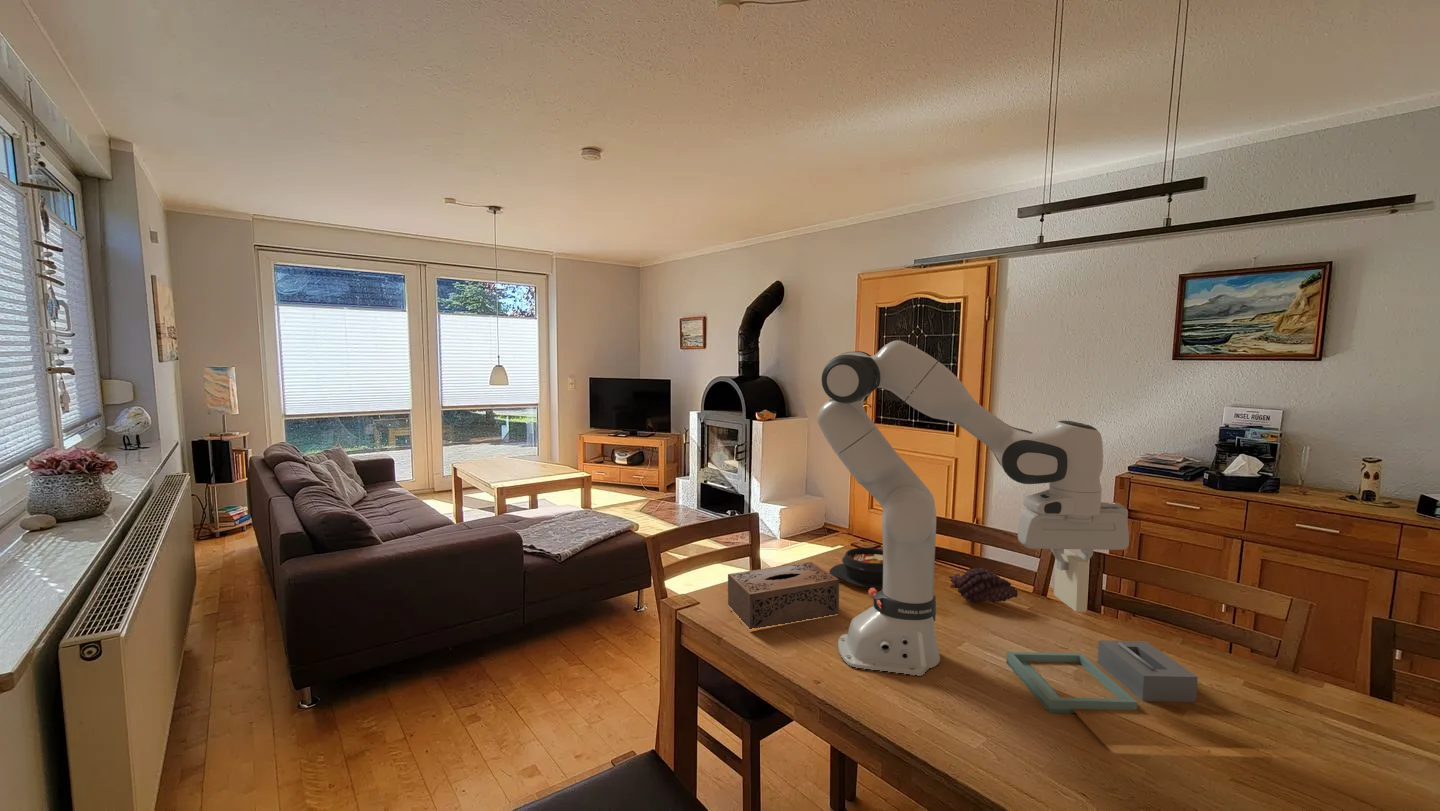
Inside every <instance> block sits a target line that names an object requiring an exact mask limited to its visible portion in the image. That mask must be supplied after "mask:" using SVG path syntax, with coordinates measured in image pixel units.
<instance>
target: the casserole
mask: <svg viewBox="0 0 1440 811" xmlns="http://www.w3.org/2000/svg"><path fill="white" fill-rule="evenodd" d="M841 561H842V563H839V564H836V565H834V566H833V567H831V568H830V569H829V572H828V573H830V574H831V575H833V576H835V577H836V578H838V579H839V580H843V581H845V582H847V583H848V584H850V585H854V586H857V587H860V588H865V589H870V588H875V589H876V590H879V589H883V549H880V548H874V547H857V548H856V547H855V548H851V549H849V550H847V551H845V555H844V556H843V557H842V559H841Z"/></svg>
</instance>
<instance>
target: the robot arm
mask: <svg viewBox="0 0 1440 811" xmlns="http://www.w3.org/2000/svg"><path fill="white" fill-rule="evenodd" d="M821 386H822V389H823V391H824V393H825V394H826V395H827V397H828V398H829V399H828V400H827V401H826V402H824V403H823V404H822V405H821V406H820V408H819V410H818V412H817V416H816V421H817V424H818V426H819V428H820V430H821V432H822V434H823V435H824V436H823V437H825V440H826V441H827V443H828V444H829V446H830V447H831V449H832V450H833V451H834V453H835V454H836V456H837V457H838V458H839V460H840V461H841V462H842V463H843V465H844V466H845V467H846V469H847V470H848V472H849V473H850V474H851V475H852V477H853V478H854V479H855V481H856V482H857V483H858V484H860V486H862V487H863V488H864V489H865V490H866V491H867V492H868V493H869V494H870V495H871V496H872V497H873V498H874V499H875V500H876V502H878V504H879V505H880V506H881V508H882V518H881V520H882V521H881V523H882V524H881V525H882V526H881V527H882V528H881V529H882V550H883V588H881V590H879V591H878V589H875V588H869V589H868V592H867V593H868V595H869V597H870V598H871V600H872V599H873V605H871V606H870V607H869V608H867V609H866V610H864V611H863V612H861V613H859V614H857V615H856V616H855V617H853V618H852V619H851V621H850V624H849V626H848V631H847V633H846V634H842V635H841V636H840V637H839V638H838V640H837V641H838V642H837V650H838V652H839V653H840V654H839V653H838V654H839V656H840V655H841V656H840V658H841V657H842V658H843V659H842V658H841V659H842V660H844V661H845V662H846V663H847V664H846V663H845V662H844V661H843V662H844V663H845V664H846V665H847V666H849V665H850V666H849V667H851V666H853V667H856V668H855V669H857V668H864V669H863V670H865V669H873V670H880V671H879V672H882V671H888V672H887V673H890V672H896V673H895V674H898V673H904V674H903V675H906V674H910V675H909V676H915V675H917V676H916V677H922V676H924V675H925V672H926V673H927V671H928V670H930V669H932V668H934V667H936V666H937V665H939V663H940V662H941V655H940V652H939V648H938V644H937V639H936V638H937V637H936V630H935V622H936V615H937V601H936V600H937V599H936V596H935V595H934V594H935V559H936V538H937V535H936V534H937V510H936V503H935V498H934V495H933V493H932V492H931V490H930V489H929V488H928V487H927V486H926V484H925V483H924V482H923V481H922V479H921V478H920V477H919V476H918V475H917V474H916V473H915V471H914V470H913V469H912V468H911V467H910V466H909V465H908V463H906V461H905V460H904V459H903V458H902V457H901V456H900V455H899V454H898V453H897V451H896V450H895V448H894V447H893V446H892V444H890V442H889V441H888V440H887V439H886V437H885V436H884V434H883V433H882V432H881V431H880V430H879V427H877V426H876V424H875V423H874V421H873V420H872V418H870V417H869V415H868V414H867V412H866V409H865V407H864V403H865V402H866V401H867V399H868V398H869V396H870V395H871V393H872V392H874V391H875V390H877V389H885V390H887V391H890V392H891V393H893V394H894V395H895V396H897V397H898V398H899V399H901V400H902V401H904V402H905V403H906V404H907V405H909V406H910V407H911V408H913V409H915V411H918V412H919V413H922V414H923V415H926V416H928V417H930V418H932V419H935V420H941V421H946V422H947V421H948V422H950V423H953V424H955V425H957V426H959V427H960V428H962V429H964V430H965V431H967V433H969V434H970V435H972V436H974V438H976V439H977V440H978V441H980V442H981V443H983V444H984V445H985V446H987V447H988V448H989V449H990V451H991V452H992V453H993V454H994V456H995V459H996V460H997V462H998V464H999V465H1000V466H1001V468H1002V470H1003V472H1004V473H1005V474H1006V475H1007V477H1009V478H1010V479H1011V480H1012V481H1015V482H1017V483H1019V484H1023V485H1039V484H1049V489H1046V490H1045V489H1044V490H1042V491H1040V492H1036V493H1034V494H1030V495H1027V496H1025V497H1024V498H1023V505H1024V507H1025V509H1023V510H1022V511H1021V513H1020V516H1019V521H1018V527H1017V540H1018V541H1019V543H1020V544H1021V545H1023V546H1024V547H1025V548H1027V549H1033V550H1034V549H1037V550H1038V549H1039V550H1045V549H1046V550H1051V553H1052V554H1053V556H1054V558H1055V560H1056V559H1057V568H1058V569H1059V570H1068V569H1069V567H1068V566H1069V562H1068V561H1066V560H1064V559H1063V557H1062V555H1061V554H1064V549H1067V550H1079V551H1080V552H1081V553H1080V556H1079V557H1081V558H1082V559H1084V560H1086V561H1088V562H1089V561H1090V560H1091V558H1092V557H1093V555H1094V550H1099V551H1100V550H1103V551H1105V550H1107V551H1111V550H1112V551H1114V550H1116V551H1124V550H1126V549H1127V548H1128V547H1129V545H1130V535H1129V525H1128V517H1129V511H1128V509H1127V508H1126V506H1124V505H1122V504H1121V502H1106V501H1105V502H1102V489H1103V488H1102V484H1101V481H1100V479H1101V478H1100V477H1101V474H1102V472H1103V468H1104V467H1103V466H1104V445H1103V438H1102V435H1101V433H1100V431H1099V430H1098V429H1097V428H1096V427H1093V426H1092V425H1089V424H1086V423H1082V422H1077V421H1072V420H1058V421H1057V422H1055V423H1054V424H1052V425H1050V426H1048V427H1046V428H1044V429H1042V430H1038V431H1036V432H1032V431H1029V430H1026V429H1023V428H1019V427H1014V426H1011V425H1009V424H1007V423H1006V422H1005V421H1003V420H1002V419H1000V418H999V417H997V415H995V414H993V413H992V412H990V411H989V410H987V409H986V408H985V407H983V406H982V405H981V404H980V403H978V402H977V401H976V399H975V398H974V397H973V396H972V395H971V393H970V392H969V390H967V388H966V387H965V385H964V384H963V382H962V381H961V380H960V379H959V378H958V377H957V376H956V375H955V374H954V373H953V372H952V371H951V370H950V369H949V368H948V367H946V366H945V365H944V364H943V363H941V362H939V361H938V360H937V359H936V358H934V357H933V356H931V355H929V354H928V353H927V352H925V351H923V350H921V349H920V348H918V347H916V346H914V345H912V344H909V343H907V342H906V341H904V340H900V339H898V340H892V341H890V342H888V343H887V344H885V345H884V346H882V347H881V348H880V349H879V350H878V351H877V353H875V354H874V355H871V354H869V353H867V352H864V351H860V350H857V351H856V350H855V351H854V350H853V351H846V352H842V353H841V354H838V355H837V356H835V357H833V358H831V359H830V360H829V361H828V362H827V364H826V365H825V366H824V368H823V370H822V373H821ZM929 668H930V669H929ZM873 670H872V671H873ZM923 674H924V675H923ZM921 675H922V676H921Z"/></svg>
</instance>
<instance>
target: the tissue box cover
mask: <svg viewBox="0 0 1440 811" xmlns="http://www.w3.org/2000/svg"><path fill="white" fill-rule="evenodd" d="M839 602H840V578H838V577H835V576H833V575H831V574H830V572H828V571H827V570H826V569H823V568H822V567H820V566H819V565H818V564H815V563H814V562H813V561H806V562H800V563H793V564H785V565H781V566H780V565H779V566H773V567H766V568H760V569H759V568H758V569H754V570H747V571H746V570H745V571H740V572H739V571H738V572H731V573H727V606H728V605H729V606H730V607H731V608H732V609H733V611H734V612H735V613H736V614H737V615H738V616H739V618H741V620H742V621H743V622H744V623H745V624H746V625H747V626H748V627H749V629H752V628H758V627H759V628H760V627H766V626H772V625H778V624H785V623H791V622H796V621H802V620H806V619H813V618H818V617H824V616H829V615H835V614H839V615H840V612H839V611H840V610H839V609H840V603H839Z"/></svg>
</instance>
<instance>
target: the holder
mask: <svg viewBox="0 0 1440 811" xmlns="http://www.w3.org/2000/svg"><path fill="white" fill-rule="evenodd" d="M1097 647H1098V648H1097V649H1098V650H1097V664H1098V665H1100V666H1101V667H1102V668H1103V669H1104V670H1106V671H1107V673H1109V674H1110V675H1111V676H1113V677H1114V678H1115V679H1116V680H1117V681H1119V683H1121V684H1122V685H1123V686H1124V687H1125V688H1127V690H1129V691H1130V692H1131V693H1132V694H1133V695H1135V696H1136V697H1137V698H1138V699H1139V700H1140V701H1142V702H1167V703H1168V702H1169V703H1170V702H1175V703H1197V695H1198V694H1197V693H1198V692H1197V691H1198V678H1199V677H1198V676H1197V675H1196V674H1194V673H1193V672H1191V671H1190V670H1188V669H1187V668H1185V667H1184V666H1183V665H1181V664H1179V663H1178V662H1177V661H1176V660H1174V659H1172V658H1171V657H1169V656H1168V655H1167V654H1165V653H1164V652H1162V651H1161V650H1160V649H1158V648H1157V647H1155V646H1154V645H1152V644H1151V643H1149V642H1148V641H1146V640H1145V641H1144V640H1098V646H1097Z"/></svg>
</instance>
